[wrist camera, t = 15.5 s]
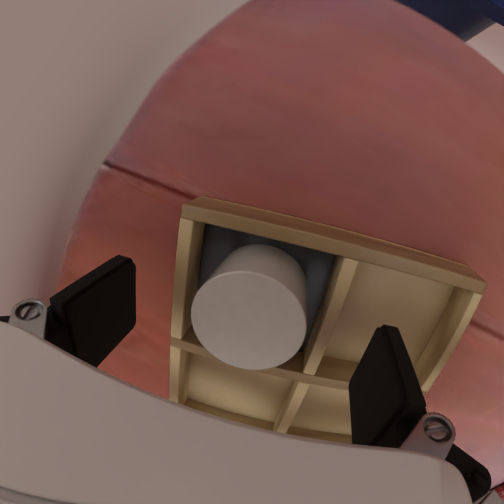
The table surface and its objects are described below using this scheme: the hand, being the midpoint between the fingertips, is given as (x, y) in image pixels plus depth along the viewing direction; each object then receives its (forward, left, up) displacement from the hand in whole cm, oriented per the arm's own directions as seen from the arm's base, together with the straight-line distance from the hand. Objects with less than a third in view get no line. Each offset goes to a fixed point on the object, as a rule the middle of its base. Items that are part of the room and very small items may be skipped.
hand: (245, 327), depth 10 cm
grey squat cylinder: (0, 0, -3) cm, 3 cm away
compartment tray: (+7, +3, -4) cm, 9 cm away
